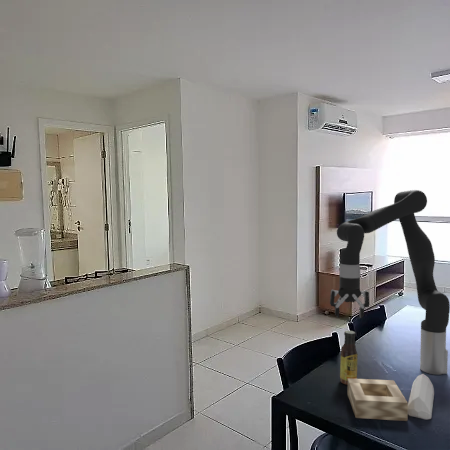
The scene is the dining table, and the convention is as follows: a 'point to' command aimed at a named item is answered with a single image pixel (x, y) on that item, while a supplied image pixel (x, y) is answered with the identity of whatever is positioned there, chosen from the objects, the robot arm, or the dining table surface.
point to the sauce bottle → (348, 358)
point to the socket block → (377, 399)
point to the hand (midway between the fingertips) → (349, 317)
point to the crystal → (421, 398)
